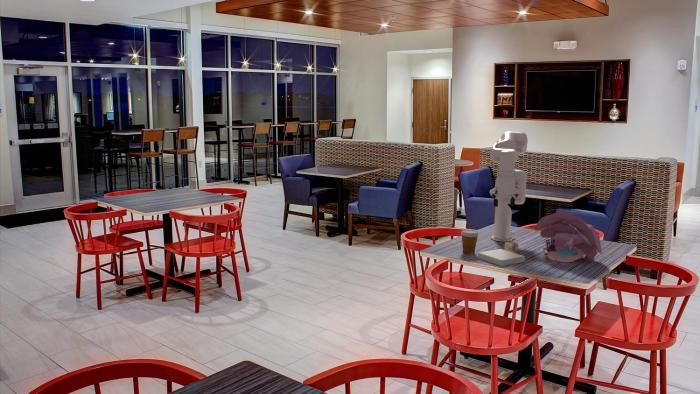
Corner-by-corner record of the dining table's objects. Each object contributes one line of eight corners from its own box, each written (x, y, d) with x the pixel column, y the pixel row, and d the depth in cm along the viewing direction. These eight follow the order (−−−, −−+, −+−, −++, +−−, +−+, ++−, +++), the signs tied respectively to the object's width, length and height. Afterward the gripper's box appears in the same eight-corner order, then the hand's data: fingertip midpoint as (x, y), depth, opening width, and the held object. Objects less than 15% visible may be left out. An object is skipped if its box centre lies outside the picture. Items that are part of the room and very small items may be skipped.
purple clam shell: (531, 266, 335) (527, 217, 327) (541, 248, 355) (537, 202, 346) (600, 270, 318) (597, 218, 310) (607, 251, 337) (605, 202, 329)
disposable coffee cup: (464, 255, 334) (465, 233, 332) (456, 250, 343) (458, 229, 341) (480, 254, 337) (481, 233, 335) (472, 250, 346) (473, 229, 344)
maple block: (510, 252, 344) (511, 241, 343) (517, 254, 340) (518, 243, 339) (504, 253, 342) (504, 242, 341) (511, 255, 338) (511, 244, 337)
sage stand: (500, 254, 339) (500, 248, 338) (524, 261, 325) (524, 256, 324) (477, 258, 330) (477, 252, 329) (501, 266, 316) (501, 260, 315)
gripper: (517, 173, 332) (514, 204, 335) (487, 173, 327) (485, 205, 330) (524, 174, 325) (522, 207, 327) (494, 175, 320) (492, 207, 323)
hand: (503, 206), depth 329 cm, fingers open, 9 cm apart
